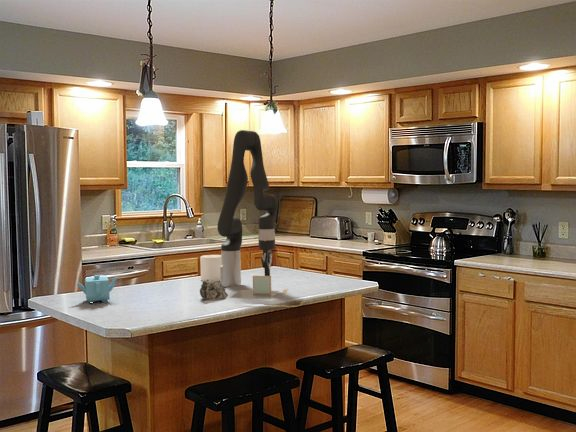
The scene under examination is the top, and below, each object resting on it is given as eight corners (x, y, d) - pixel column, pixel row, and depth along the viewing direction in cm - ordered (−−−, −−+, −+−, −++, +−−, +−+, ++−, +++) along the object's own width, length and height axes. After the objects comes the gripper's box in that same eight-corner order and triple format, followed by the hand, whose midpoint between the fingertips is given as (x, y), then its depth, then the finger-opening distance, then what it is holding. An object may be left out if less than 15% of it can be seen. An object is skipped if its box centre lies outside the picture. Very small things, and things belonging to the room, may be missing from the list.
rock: (197, 306, 270) (209, 288, 267) (193, 292, 278) (205, 274, 275) (223, 314, 277) (235, 297, 274) (218, 300, 285) (230, 284, 282)
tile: (252, 294, 282) (252, 276, 282) (253, 293, 284) (253, 275, 283) (270, 294, 281) (270, 276, 280) (271, 293, 282) (271, 275, 282)
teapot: (76, 299, 280) (75, 274, 279) (118, 296, 286) (117, 271, 285) (78, 306, 265) (77, 279, 264) (122, 303, 271) (121, 276, 270)
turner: (281, 291, 294) (281, 288, 293) (291, 291, 293) (291, 288, 293) (276, 298, 278) (276, 295, 278) (286, 298, 277) (286, 295, 277)
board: (229, 299, 275) (229, 297, 275) (240, 291, 293) (240, 289, 292) (270, 301, 271) (270, 298, 271) (279, 293, 289) (279, 290, 289)
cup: (222, 281, 322) (221, 257, 321) (199, 281, 322) (198, 257, 321) (225, 277, 333) (224, 254, 333) (202, 277, 334) (202, 254, 333)
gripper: (262, 237, 298) (262, 274, 299) (255, 240, 285) (255, 278, 286) (278, 237, 296) (278, 274, 297) (271, 240, 283) (272, 279, 284)
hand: (267, 276), depth 292 cm, fingers closed
